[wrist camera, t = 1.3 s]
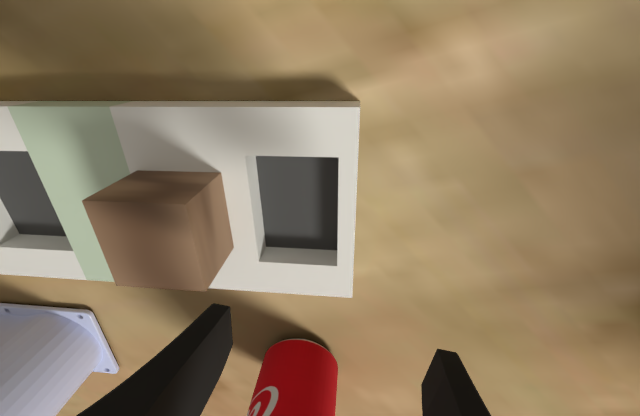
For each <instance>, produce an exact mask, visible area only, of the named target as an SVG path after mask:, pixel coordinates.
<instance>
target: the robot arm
mask: <svg viewBox="0 0 640 416" xmlns="http://www.w3.org/2000/svg"><path fill="white" fill-rule="evenodd" d="M232 345H233V340H232V327H231V314H230V307H229V306H224V305H219V304H212V305H211V306H210V307H209V308H207V309H206V310H205V311H204V312H203V313H202V314H201V315H200V316H199V317H198V318H197V319H196V320H195V321H194V322H193V323H192V324H191V325H190V326H189V327H187V328H186V329H185V330H184V331H183V332H182V333H181V334H180V335H179V336H178V337H177V338H175V339H174V340H173V341H172V342H171V343H170V344H169V345H167V346H166V347H165V348H164V349H163V350H162V351H161V352H159V353H158V354H157V355H156V356H155V357H154V358H152V359H151V360H150V361H149V362H148V363H146V364H145V365H144V366H143V367H141V368H140V369H139V370H138V371H136V372H135V373H134V374H133V375H132V376H130V377H129V378H128V379H126V380H125V381H124V382H123V383H121V384H120V385H119V386H117V387H116V388H115V389H113V390H112V391H111V392H109V393H108V394H107V395H105V396H104V397H102V398H101V399H100V400H98V401H97V402H96V403H94V404H93V405H91V406H90V407H88V408H87V409H85V410H84V411H83V412H81V413H80V414H78V415H77V416H200V415H201V413H202V411H203V409H204V407H205V405H206V403H207V401H208V399H209V397H210V395H211V394H212V392H213V390H214V388H215V386H216V384H217V382H218V380H219V378H220V376H221V374H222V371H223V369H224V366H225V363H226V361H227V358H228V356H229V353H230V350H231V348H232ZM118 370H119V366H118V364H117V362H116V360H115V358H114V356H113V353H112V351H111V349H110V347H109V345H108V343H107V341H106V339H105V337H104V335H103V332H102V330H101V328H100V326H99V324H98V322H97V320H96V318H95V316H94V314H93V312H91V311H90V310H84V309H71V308H58V307H46V306H33V305H20V304H7V303H0V416H56V415H57V413H58V412H59V411H60V410H61V409H62V407H63V406H64V405H65V404H66V403H67V401H68V400H69V399H70V398H71V397H72V395H73V394H74V393H75V392H76V391H77V389H78V388H79V387H80V386H81V384H82V383H83V382H84V381H85V380H86V378H87V377H88V376H89V375H90V374H91V372H92V371H93V372H103V373H113V374H115V373H117V372H118ZM422 411H423V416H491V415H490V413H489V411H488V409H487V408H486V406H485V404H484V402H483V401H482V399H481V397H480V395H479V393H478V391H477V390H476V388H475V386H474V384H473V382H472V380H471V379H470V377H469V375H468V373H467V371H466V369H465V367H464V365H463V363H462V361H461V359H460V358H459V356H458V354H457V353H456V352H451V351H446V350H441V349H437V351H436V353H435V355H434V357H433V360H432V362H431V364H430V367H429V369H428V371H427V373H426V376H425V378H424V380H423V382H422Z"/></svg>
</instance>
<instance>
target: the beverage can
mask: <svg viewBox="0 0 640 416" xmlns="http://www.w3.org/2000/svg"><path fill="white" fill-rule="evenodd" d="M337 374H338V366H337V362H336V360H335V358H334V356H333V355H332V354H331V353H330V352H329V351H328V350H327V349H326V348H324V347H323V346H321V345H319V344H318V343H315V342H313V341H310V340H306V339H287V340H283V341H280V342H278V343H276V344H274V345H272V346H271V347H270V348H269V349H268V350H267V352H266V354H265V357H264V360H263V364H262V367H261V370H260V373H259V377H258V380H257V383H256V387H255V390H254V393H253V397H252V400H251V403H250V407H249V410H248V413H247V416H335V406H336V390H337Z"/></svg>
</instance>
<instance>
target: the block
mask: <svg viewBox="0 0 640 416" xmlns="http://www.w3.org/2000/svg"><path fill="white" fill-rule="evenodd" d="M82 203H83V205H84V208H85V210H86V213H87V215H88V218H89V220H90V223H91V225H92V227H93V230H94V232H95V235H96V237H97V240H98V242H99V245H100V247H101V250H102V252H103V254H104V257H105V259H106V262H107V264H108V267H109V269H110V272H111V274H112V277H113V279H114V281H115V284H116V286H130V287H145V288H159V289H174V290H188V291H203V292H206V291H207V289H208V288H209V286H210V285H211V283H212V282H213V280H214V278H215V277H216V275H217V274H218V272H219V270H220V269H221V267H222V266H223V264H224V263H225V261H226V259H227V258H228V256H229V255H230V253H231V251H232V250H233V248H234V245H233V239H232V233H231V227H230V221H229V216H228V210H227V204H226V198H225V192H224V186H223V181H222V175H221V173H220V172H181V171H142V170H137V171H135V172H133V173H131V174H130V175H128V176H126V177H124V178H122V179H120V180H119V181H117V182H115V183H113V184H111V185H109V186H108V187H106V188H104V189H102V190H100V191H98V192H96V193H95V194H93V195H91V196H89V197H87V198H85V199H84V200H82Z"/></svg>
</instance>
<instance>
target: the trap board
mask: <svg viewBox="0 0 640 416" xmlns="http://www.w3.org/2000/svg"><path fill="white" fill-rule="evenodd" d="M359 123H360V101H0V274H6V275H21V276H36V277H50V278H65V279H80V280H95V281H110V282H115V281H114V279H113V277H112V274H111V272H110V269H109V267H108V264H107V262H106V259H105V257H104V254H103V252H102V250H101V247H100V245H99V242H98V240H97V237H96V235H95V232H94V230H93V227H92V225H91V223H90V220H89V218H88V215H87V213H86V210H85V208H84V205H83V203H82V200H84V199H85V198H87V197H89V196H91V195H93V194H95V193H96V192H98V191H100V190H102V189H104V188H106V187H108V186H109V185H111V184H113V183H115V182H117V181H119V180H120V179H122V178H124V177H126V176H128V175H130V174H131V173H133V172H135V171H137V170H142V171H181V172H220V173H221V175H222V181H223V186H224V192H225V198H226V204H227V210H228V216H229V221H230V227H231V233H232V239H233V245H234V248H233V250H232V251H231V253H230V255H229V256H228V258H227V259H226V261H225V263H224V264H223V266H222V267H221V269H220V270H219V272H218V274H217V275H216V277H215V278H214V280H213V282H212V283H211V285H210V286H209V288H214V289H228V290H243V291H258V292H273V293H288V294H303V295H318V296H332V297H347V298H352V289H353V265H354V241H355V218H356V194H357V170H358V147H359Z"/></svg>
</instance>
